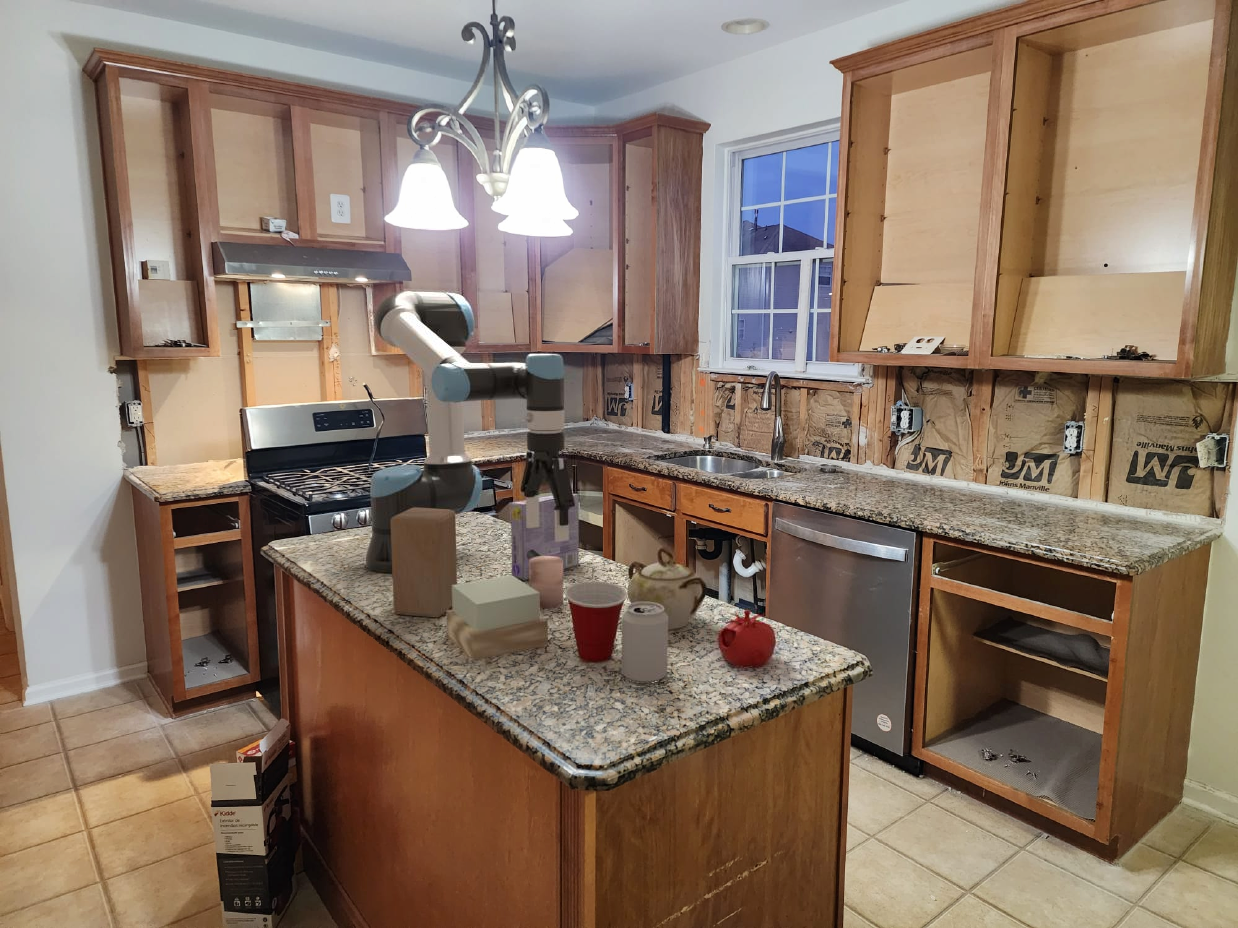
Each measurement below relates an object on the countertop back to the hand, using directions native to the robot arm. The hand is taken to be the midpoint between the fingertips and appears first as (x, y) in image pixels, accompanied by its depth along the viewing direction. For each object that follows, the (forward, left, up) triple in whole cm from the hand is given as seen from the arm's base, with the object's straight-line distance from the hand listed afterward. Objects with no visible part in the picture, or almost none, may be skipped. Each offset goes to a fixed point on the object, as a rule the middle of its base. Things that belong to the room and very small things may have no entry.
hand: (546, 533), depth 166 cm
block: (-8, -23, -15) cm, 29 cm away
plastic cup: (+30, -5, -15) cm, 34 cm away
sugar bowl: (+22, +15, -15) cm, 30 cm away
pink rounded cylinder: (0, 0, -15) cm, 15 cm away
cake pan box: (-20, +10, -15) cm, 27 cm away
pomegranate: (+44, +17, -15) cm, 49 cm away
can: (+41, -2, -15) cm, 43 cm away
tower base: (+14, -17, -15) cm, 27 cm away
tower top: (+14, -17, -10) cm, 24 cm away
